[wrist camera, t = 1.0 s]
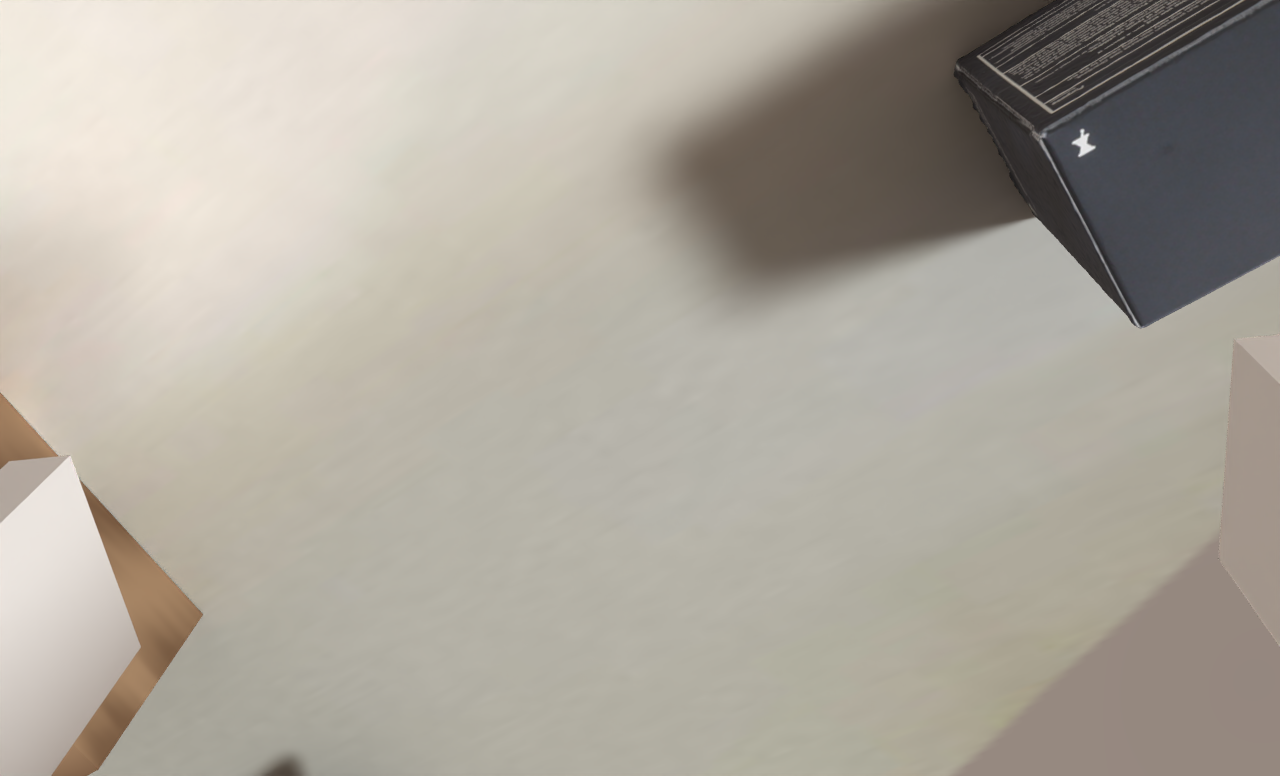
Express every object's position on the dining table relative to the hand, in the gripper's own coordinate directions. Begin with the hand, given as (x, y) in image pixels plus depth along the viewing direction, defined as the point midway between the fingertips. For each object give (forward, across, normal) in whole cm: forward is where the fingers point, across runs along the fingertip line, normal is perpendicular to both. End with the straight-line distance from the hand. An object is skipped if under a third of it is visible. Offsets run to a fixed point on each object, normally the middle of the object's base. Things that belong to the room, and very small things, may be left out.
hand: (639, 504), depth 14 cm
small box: (+28, +14, -2) cm, 31 cm away
